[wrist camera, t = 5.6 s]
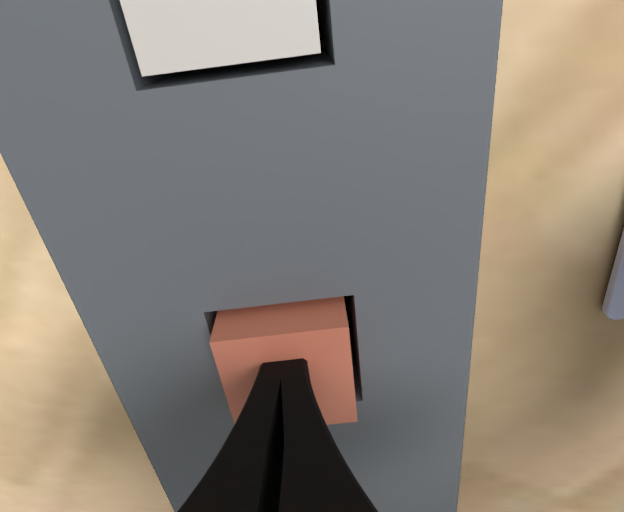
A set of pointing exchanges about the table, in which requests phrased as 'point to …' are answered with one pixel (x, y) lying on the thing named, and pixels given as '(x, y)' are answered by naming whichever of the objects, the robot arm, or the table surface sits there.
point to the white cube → (218, 32)
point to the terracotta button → (288, 351)
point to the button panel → (267, 215)
